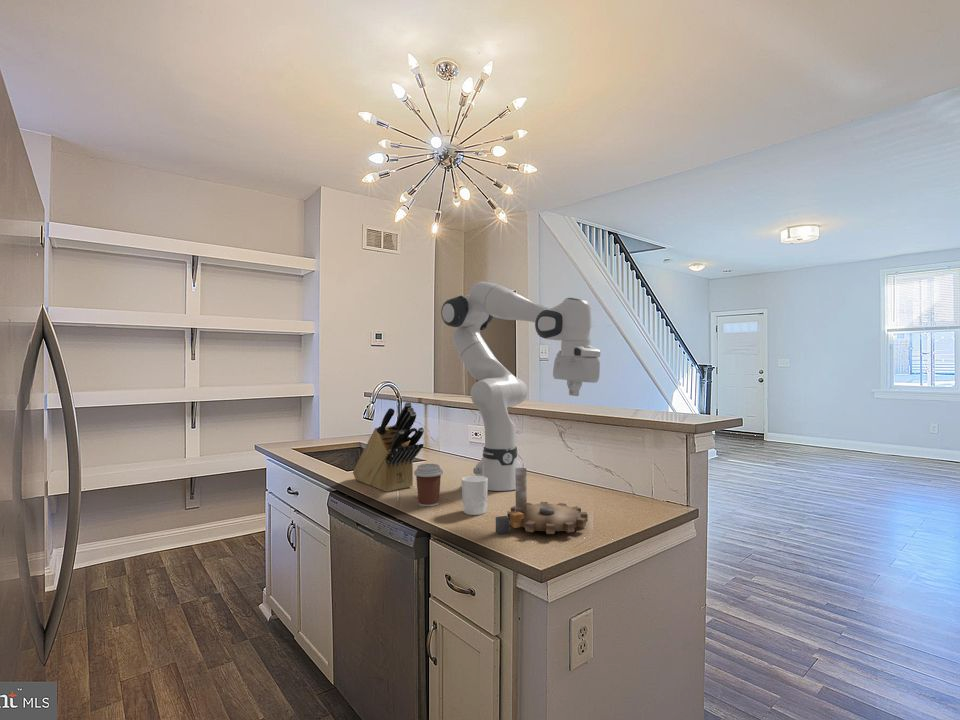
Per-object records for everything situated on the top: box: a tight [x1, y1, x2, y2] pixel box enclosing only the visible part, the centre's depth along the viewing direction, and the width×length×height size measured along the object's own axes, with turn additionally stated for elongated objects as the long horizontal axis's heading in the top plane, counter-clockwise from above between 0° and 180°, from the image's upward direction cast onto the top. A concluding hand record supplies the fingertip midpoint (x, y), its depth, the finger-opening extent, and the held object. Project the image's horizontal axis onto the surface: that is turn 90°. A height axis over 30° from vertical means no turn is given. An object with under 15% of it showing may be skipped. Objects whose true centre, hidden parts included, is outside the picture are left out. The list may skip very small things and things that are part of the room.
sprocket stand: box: [495, 515, 510, 535], centre depth 136 cm, size 8×19×4 cm, turn 113°
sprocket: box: [506, 467, 588, 535], centre depth 138 cm, size 22×22×14 cm
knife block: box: [352, 401, 425, 493], centre depth 184 cm, size 11×35×31 cm, turn 39°
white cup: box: [461, 475, 488, 516], centre depth 152 cm, size 8×8×10 cm
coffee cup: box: [413, 463, 444, 507], centre depth 161 cm, size 9×9×12 cm
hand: (573, 395), depth 156 cm, fingers closed
